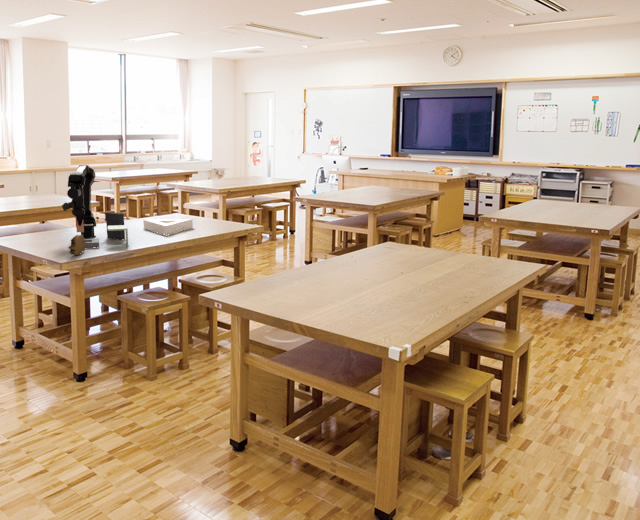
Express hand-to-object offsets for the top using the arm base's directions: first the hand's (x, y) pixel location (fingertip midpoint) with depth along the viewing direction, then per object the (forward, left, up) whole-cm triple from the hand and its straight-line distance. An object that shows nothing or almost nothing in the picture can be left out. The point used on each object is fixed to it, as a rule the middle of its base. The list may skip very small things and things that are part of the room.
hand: (79, 225), depth 344 cm
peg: (0, 0, -4) cm, 4 cm away
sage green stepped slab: (-9, +21, -10) cm, 25 cm away
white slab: (-60, +6, -11) cm, 61 cm away
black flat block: (-19, +5, -10) cm, 22 cm away
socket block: (+4, +12, -10) cm, 16 cm away
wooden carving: (+19, +27, -10) cm, 34 cm away
